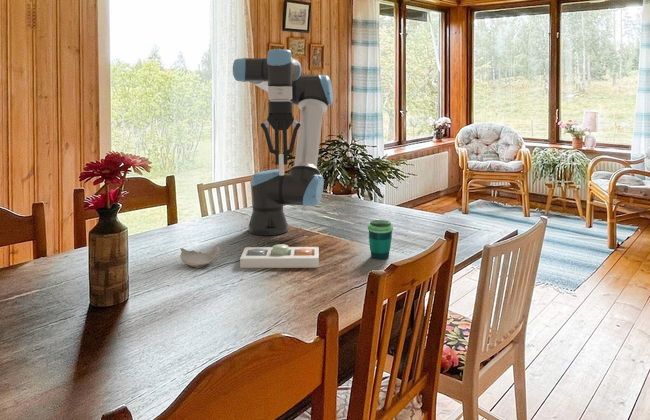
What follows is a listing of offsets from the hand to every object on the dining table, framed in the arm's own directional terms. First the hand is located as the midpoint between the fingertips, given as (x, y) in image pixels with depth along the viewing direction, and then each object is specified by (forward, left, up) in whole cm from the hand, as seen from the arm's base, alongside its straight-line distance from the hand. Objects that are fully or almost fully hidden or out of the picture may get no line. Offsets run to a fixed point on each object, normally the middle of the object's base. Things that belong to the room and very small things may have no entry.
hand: (281, 174), depth 179 cm
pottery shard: (-14, -24, -27) cm, 39 cm away
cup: (+30, +12, -27) cm, 42 cm away
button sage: (+5, -8, -23) cm, 25 cm away
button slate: (-1, -12, -25) cm, 28 cm away
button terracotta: (+11, -4, -25) cm, 28 cm away
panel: (+5, -8, -26) cm, 28 cm away
